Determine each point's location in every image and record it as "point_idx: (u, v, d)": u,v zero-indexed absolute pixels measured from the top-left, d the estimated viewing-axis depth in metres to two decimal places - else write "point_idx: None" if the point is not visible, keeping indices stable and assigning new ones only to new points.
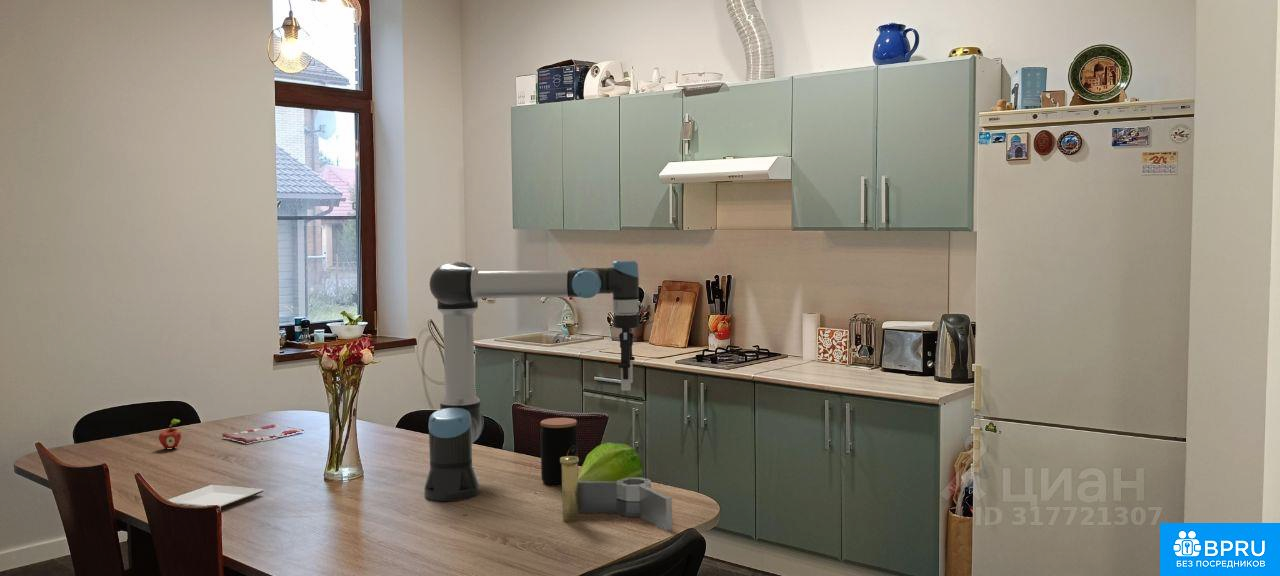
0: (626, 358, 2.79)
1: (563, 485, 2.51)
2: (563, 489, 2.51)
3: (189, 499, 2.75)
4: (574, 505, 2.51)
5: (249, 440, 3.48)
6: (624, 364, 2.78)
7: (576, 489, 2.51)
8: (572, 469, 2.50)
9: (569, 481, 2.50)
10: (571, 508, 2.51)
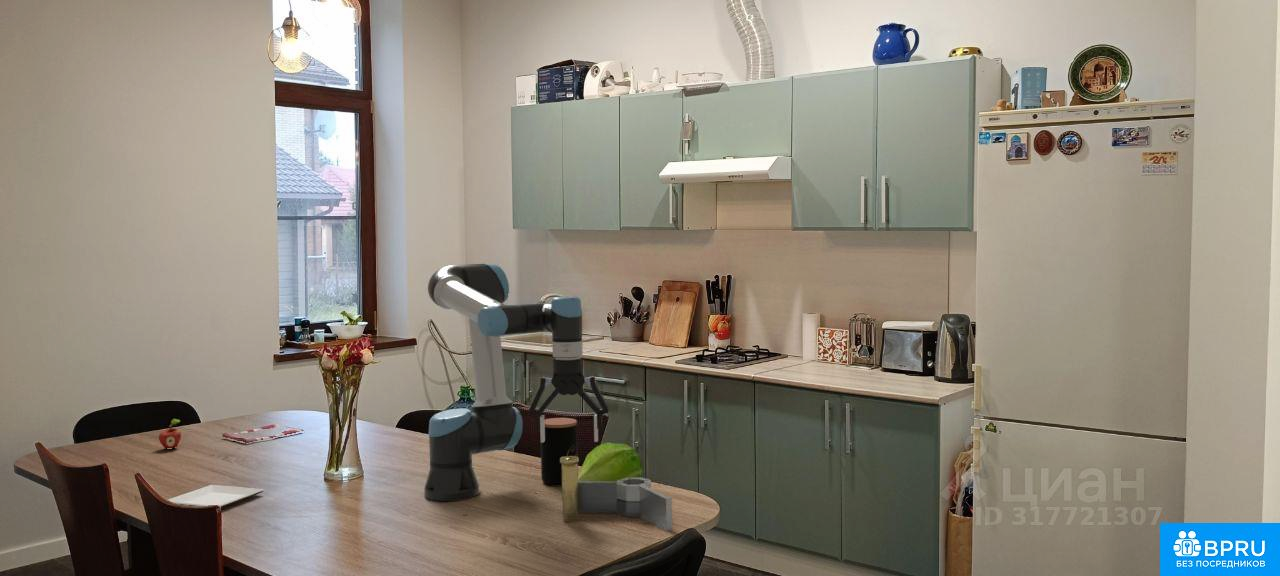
0: None
1: (563, 485, 2.51)
2: (563, 489, 2.51)
3: (189, 499, 2.75)
4: (574, 505, 2.51)
5: (249, 440, 3.48)
6: None
7: (576, 489, 2.51)
8: (572, 469, 2.50)
9: (569, 481, 2.50)
10: (571, 508, 2.51)
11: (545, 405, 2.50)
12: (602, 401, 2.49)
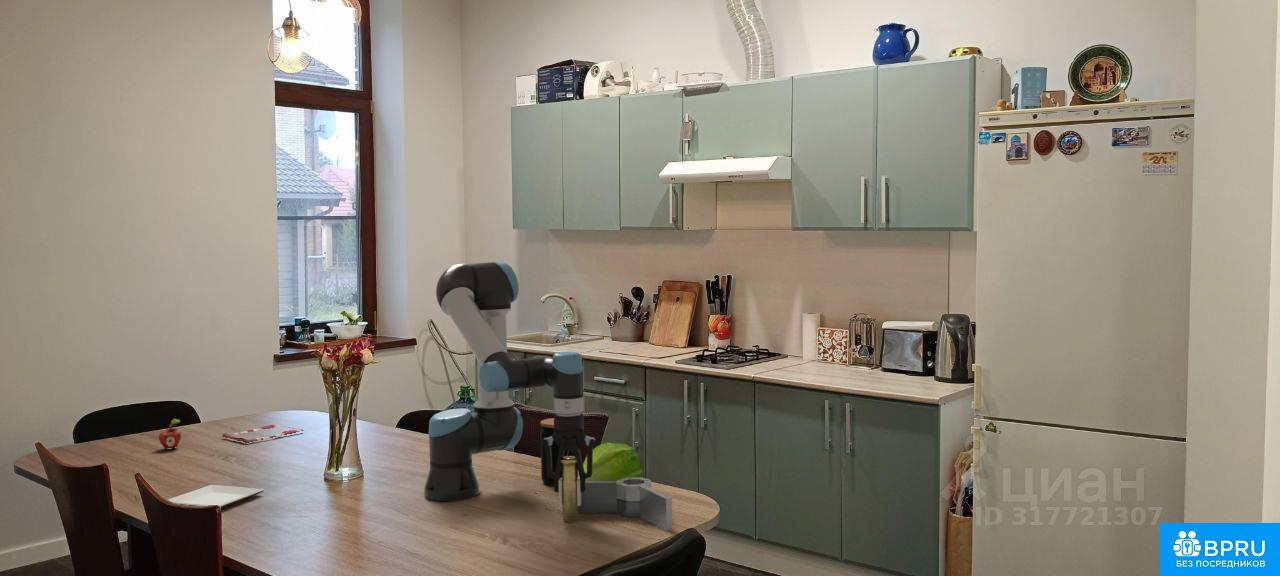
0: (547, 468, 2.52)
1: (563, 485, 2.51)
2: (563, 489, 2.51)
3: (189, 499, 2.75)
4: (574, 505, 2.51)
5: (249, 440, 3.48)
6: None
7: (576, 489, 2.51)
8: (572, 469, 2.50)
9: (569, 481, 2.50)
10: (571, 508, 2.51)
11: (558, 466, 2.51)
12: (590, 465, 2.51)
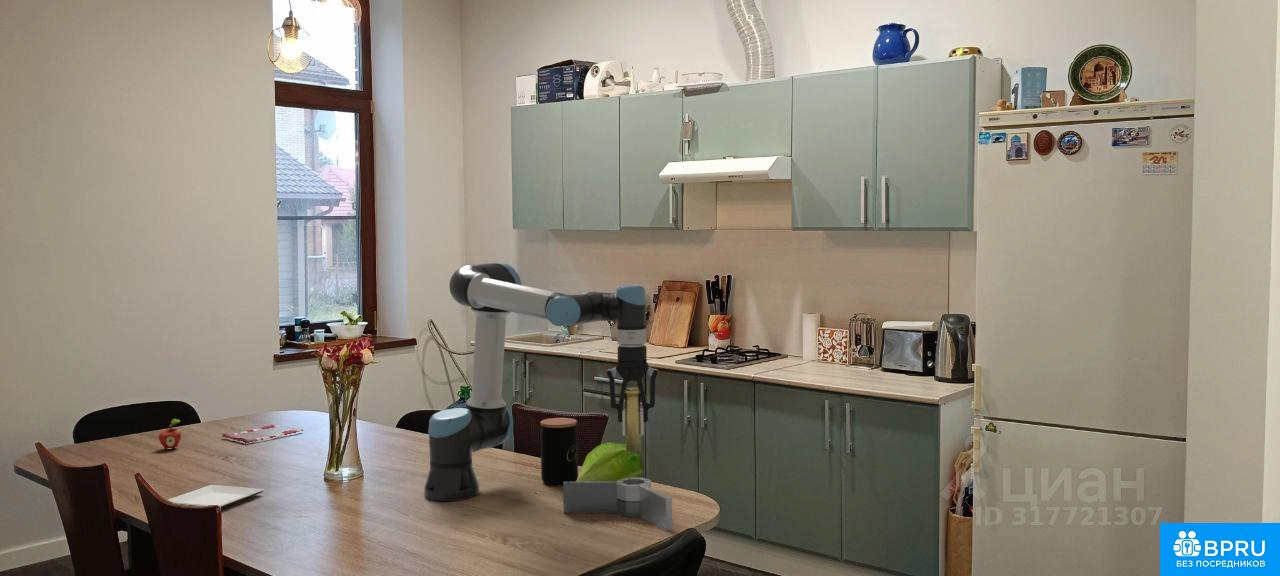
0: None
1: (627, 415, 2.56)
2: (626, 419, 2.56)
3: (189, 499, 2.75)
4: (637, 435, 2.56)
5: (249, 440, 3.48)
6: None
7: (639, 419, 2.57)
8: (636, 400, 2.56)
9: (633, 411, 2.55)
10: (635, 437, 2.56)
11: (622, 397, 2.56)
12: (653, 395, 2.56)
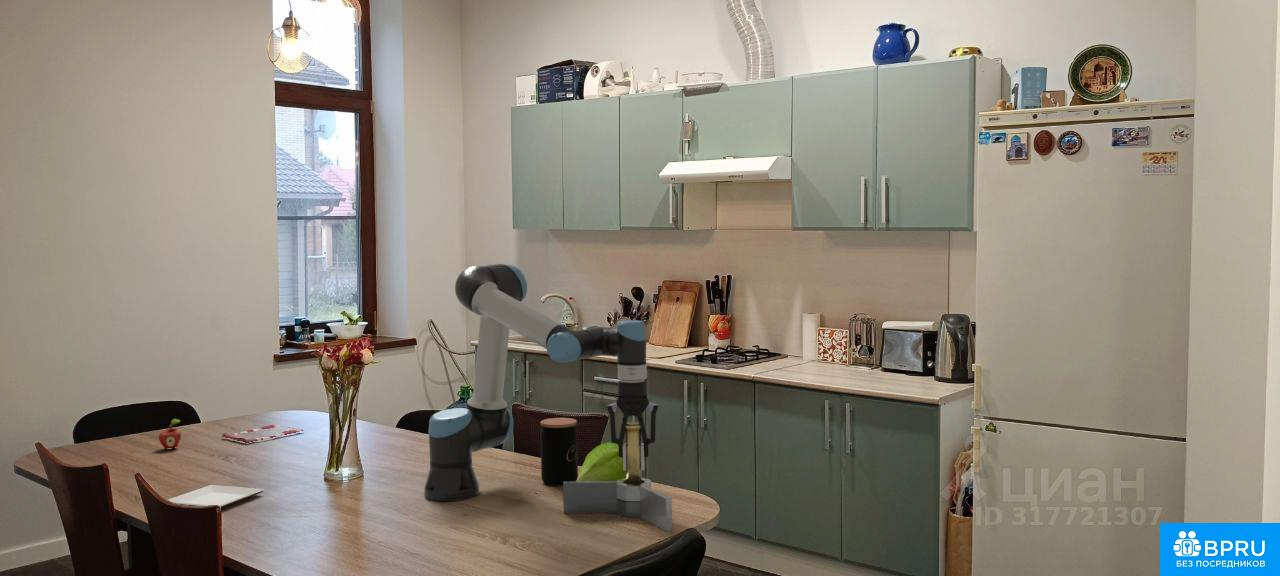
0: (611, 434, 2.58)
1: (627, 450, 2.57)
2: (627, 454, 2.57)
3: (189, 499, 2.75)
4: (638, 470, 2.57)
5: (249, 440, 3.48)
6: None
7: (640, 454, 2.57)
8: (636, 435, 2.56)
9: (633, 447, 2.56)
10: (635, 472, 2.57)
11: (623, 432, 2.57)
12: (654, 430, 2.57)
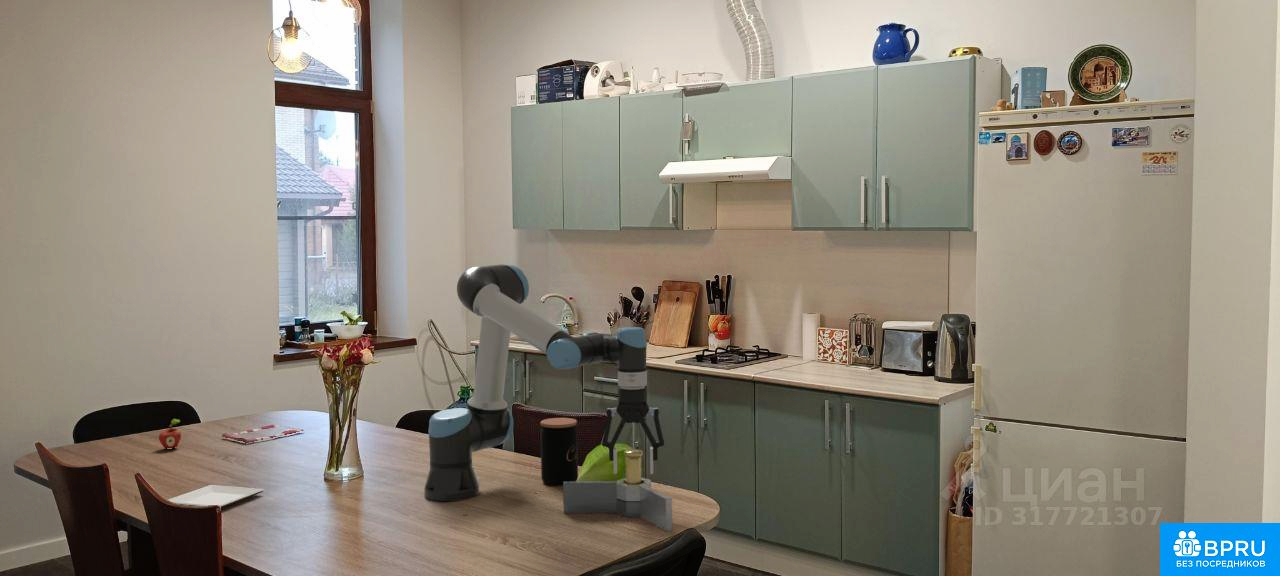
0: (603, 437, 2.58)
1: (627, 477, 2.57)
2: (627, 481, 2.58)
3: (189, 499, 2.75)
4: None
5: (249, 440, 3.48)
6: None
7: (640, 482, 2.58)
8: (637, 462, 2.57)
9: (633, 474, 2.57)
10: None
11: (616, 436, 2.57)
12: (660, 434, 2.57)
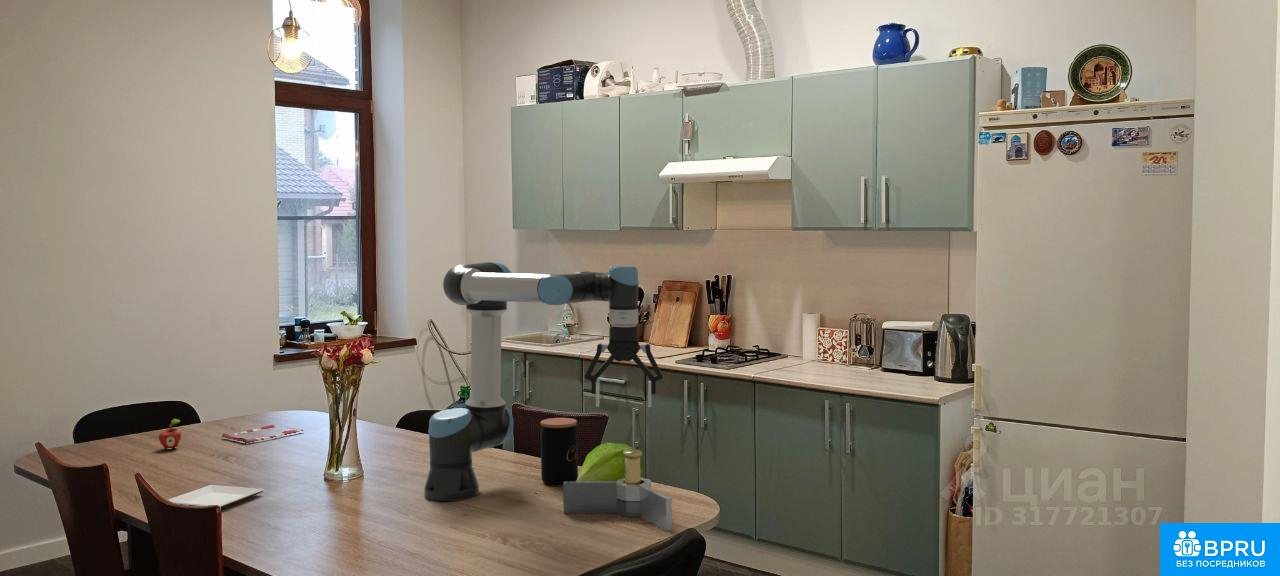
0: None
1: (626, 478, 2.57)
2: (626, 482, 2.58)
3: (189, 499, 2.75)
4: None
5: (249, 440, 3.48)
6: None
7: (639, 482, 2.58)
8: (636, 462, 2.57)
9: (632, 474, 2.57)
10: None
11: (601, 371, 2.57)
12: (657, 368, 2.57)
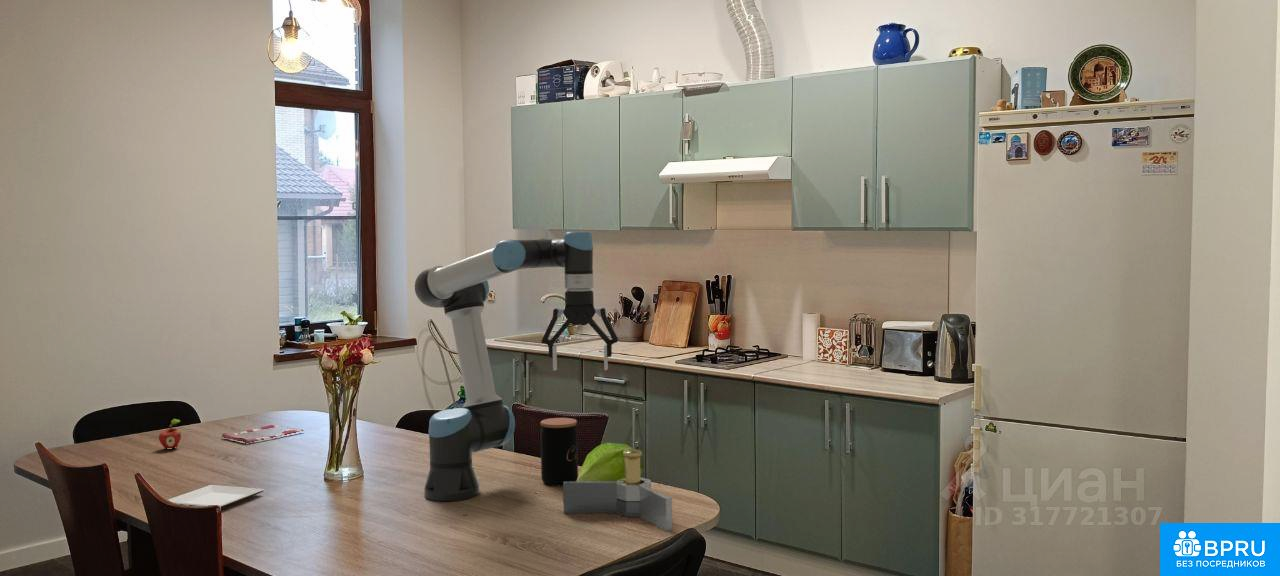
0: (544, 334, 2.63)
1: (626, 478, 2.57)
2: (626, 482, 2.58)
3: (189, 499, 2.75)
4: None
5: (249, 440, 3.48)
6: None
7: (639, 482, 2.58)
8: (635, 462, 2.57)
9: (632, 474, 2.57)
10: None
11: (557, 335, 2.62)
12: (612, 331, 2.61)
